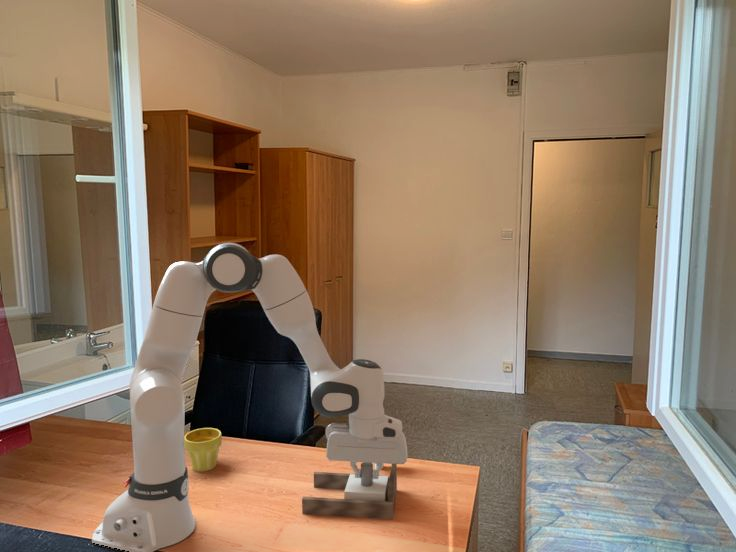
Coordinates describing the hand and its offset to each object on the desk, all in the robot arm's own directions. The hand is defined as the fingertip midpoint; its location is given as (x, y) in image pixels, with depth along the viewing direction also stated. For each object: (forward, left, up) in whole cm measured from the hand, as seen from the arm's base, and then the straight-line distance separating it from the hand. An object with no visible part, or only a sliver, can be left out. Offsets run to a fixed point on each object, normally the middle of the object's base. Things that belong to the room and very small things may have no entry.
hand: (366, 477), depth 137 cm
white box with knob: (0, 0, -7) cm, 7 cm away
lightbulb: (+1, +19, -8) cm, 21 cm away
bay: (-4, 0, -8) cm, 9 cm away
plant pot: (-50, +16, -8) cm, 53 cm away
